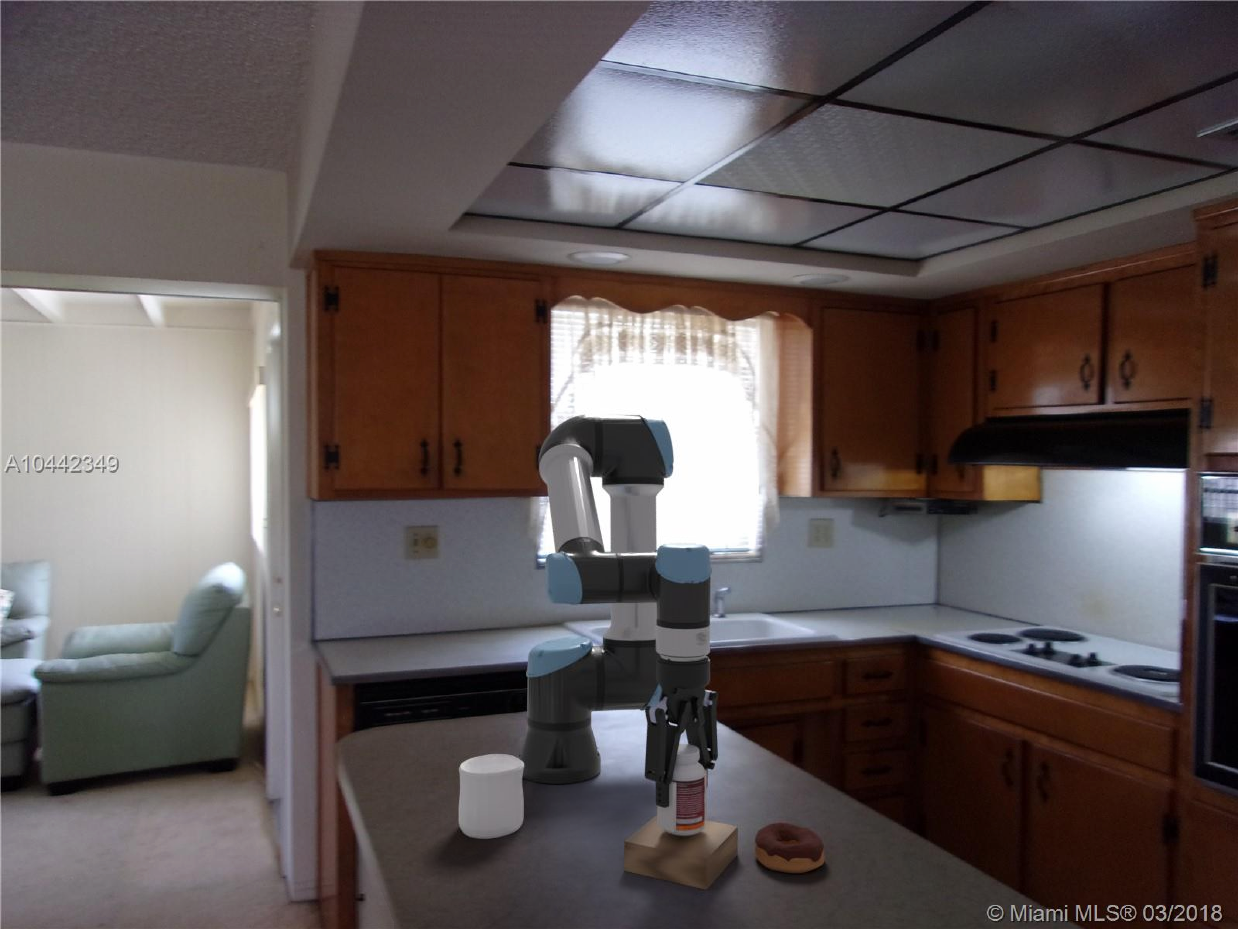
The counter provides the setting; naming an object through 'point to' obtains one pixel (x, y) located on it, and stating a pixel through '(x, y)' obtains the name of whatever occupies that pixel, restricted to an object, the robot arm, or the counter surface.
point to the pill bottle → (689, 791)
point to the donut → (789, 848)
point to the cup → (491, 796)
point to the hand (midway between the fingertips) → (682, 821)
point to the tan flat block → (681, 853)
